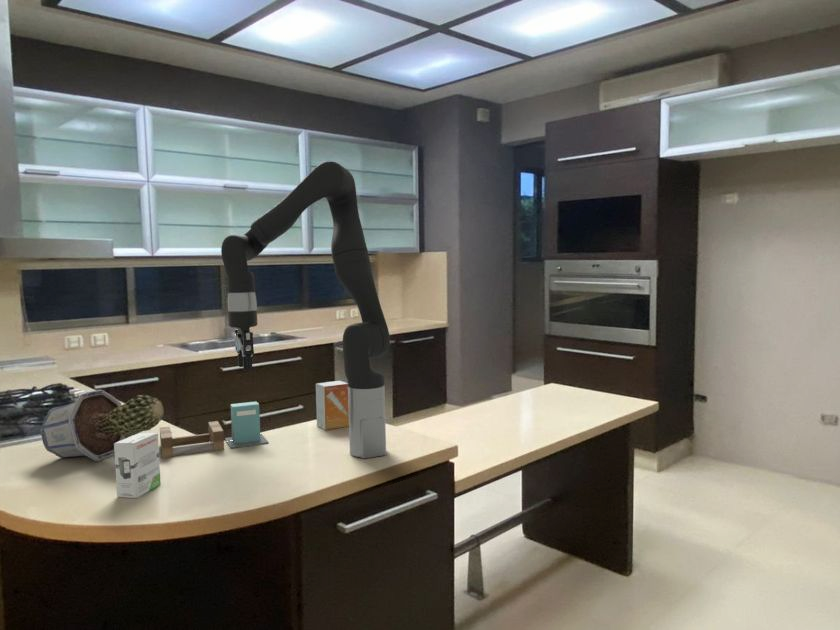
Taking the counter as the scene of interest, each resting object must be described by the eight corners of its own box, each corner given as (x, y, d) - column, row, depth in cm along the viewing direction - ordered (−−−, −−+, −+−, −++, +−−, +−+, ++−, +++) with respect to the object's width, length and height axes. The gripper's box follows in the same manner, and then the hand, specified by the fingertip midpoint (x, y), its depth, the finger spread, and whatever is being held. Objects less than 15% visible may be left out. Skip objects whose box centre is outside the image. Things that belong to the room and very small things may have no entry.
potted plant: (21, 408, 151) (126, 380, 144) (77, 396, 168) (172, 371, 162) (38, 477, 150) (143, 453, 144) (92, 458, 168) (188, 436, 162)
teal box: (260, 440, 169) (259, 404, 168) (234, 443, 166) (232, 407, 165) (257, 436, 172) (256, 401, 172) (232, 439, 170) (230, 404, 169)
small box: (325, 430, 179) (324, 386, 178) (316, 426, 184) (315, 383, 183) (350, 426, 183) (349, 383, 182) (340, 422, 189) (339, 380, 188)
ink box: (142, 483, 137) (139, 431, 136) (162, 484, 136) (159, 432, 135) (116, 497, 129) (112, 442, 128) (137, 498, 128) (133, 443, 127)
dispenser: (224, 449, 162) (223, 430, 162) (162, 457, 156) (161, 438, 155) (218, 438, 173) (217, 420, 172) (160, 445, 167) (159, 427, 166)
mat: (268, 443, 167) (268, 441, 167) (230, 448, 163) (230, 447, 163) (261, 434, 176) (261, 433, 176) (225, 439, 172) (224, 438, 172)
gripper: (261, 309, 162) (264, 370, 163) (251, 307, 175) (254, 364, 176) (232, 311, 159) (235, 373, 160) (224, 308, 171) (227, 366, 173)
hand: (245, 368), depth 168 cm, fingers open, 8 cm apart
